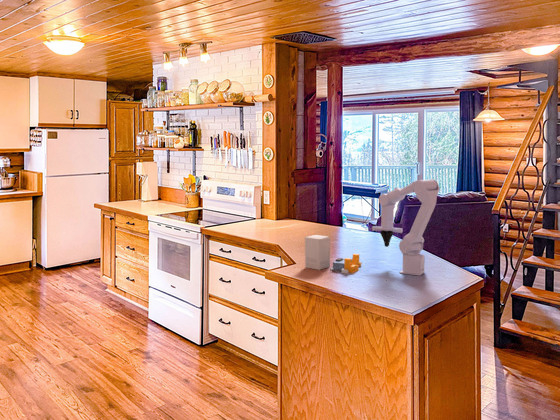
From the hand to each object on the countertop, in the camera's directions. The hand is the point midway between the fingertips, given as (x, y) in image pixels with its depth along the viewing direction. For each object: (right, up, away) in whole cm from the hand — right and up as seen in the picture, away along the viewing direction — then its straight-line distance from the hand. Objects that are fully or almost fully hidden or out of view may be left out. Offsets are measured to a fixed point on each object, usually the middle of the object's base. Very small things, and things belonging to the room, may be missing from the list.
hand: (386, 246), depth 236 cm
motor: (-21, -10, -5) cm, 24 cm away
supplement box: (-34, -10, -1) cm, 35 cm away
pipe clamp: (-17, -11, -6) cm, 21 cm away
